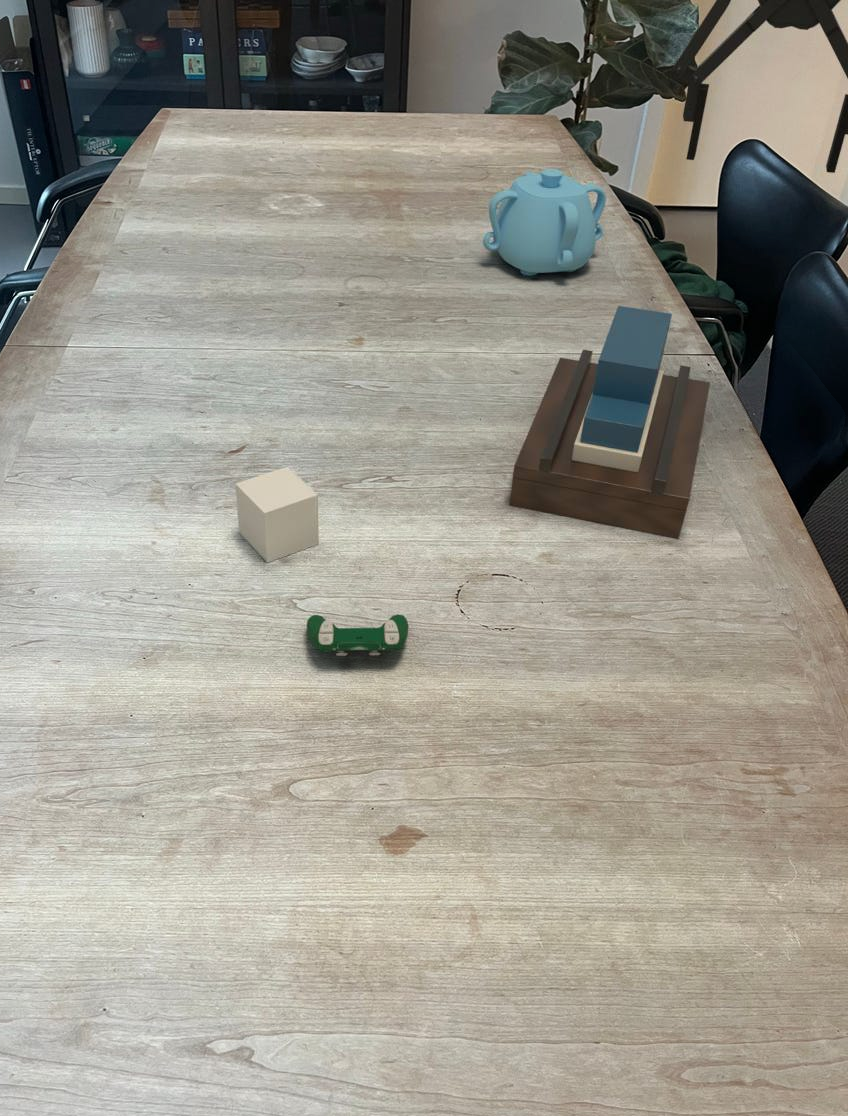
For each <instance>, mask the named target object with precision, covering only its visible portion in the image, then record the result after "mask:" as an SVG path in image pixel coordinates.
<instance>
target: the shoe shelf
mask: <svg viewBox="0 0 848 1116" xmlns="http://www.w3.org/2000/svg"><path fill="white" fill-rule="evenodd" d="M593 353H594V352H593V350H589V349H582V351H581V354H580V356H579V359H578V360H577V359H571V358H565V357H559V359H558V362H557V364H556V366H555V367H554V370H553V373H552V375H551V378H550V380H549V382H548V385H547V387H546V390H545V392H544V395H543V397H542V399H541V401H540V404H539V406H538V409H537V411H536V413H535V416H534V418H533V420H532V422H531V425H530V427H529V430H528V432H527V434H526V437H525V440H524V441H523V444H522V446H521V448H520V451H519V454H518V455H517V458H516V461H515V463H514V466H513V471H512V472H513V474H512V481H511V487H510V496H509V503H508V505H509V506H513V507H518V508H522V509H523V508H524V509H528V510H533V511H538V512H542V513H543V512H544V513H547V514H553V515H558V516H562V517H568V518H574V519H578V520H582V521H588V522H593V523H599V524H604V525H608V526H613V527H619V528H624V529H628V530H633V531H639V532H643V533H649V534H653V535H658V536H664V537H668V538H674V539H679V538H680V535H681V532H682V528H683V524H684V520H685V517H686V514H687V509H688V505H689V504H690V503H689V502H690V499H691V493H692V487H693V481H694V476H695V470H696V464H697V460H698V458H697V457H698V453H699V449H700V448H699V447H700V443H701V437H702V431H703V427H704V420H705V415H706V414H705V413H706V409H707V404H708V397H709V391H710V387H711V382H710V381H705V380H700V379H699V380H698V379H693V378H689V377H690V372H691V368H692V367H691V366H687V365H682V364H681V365H680V366H679V370H678V374H677V376H675V375H670V374H669V375H668V374H663V377H662V381H661V386H660V389H659V393H658V397H657V401H656V405H655V409H654V413H653V417H652V421H651V425H650V429H649V433H648V437H647V440H646V444H645V448H644V452H643V456H642V460H641V464H640V468H639V472H632V471H627V470H621V469H616V468H611V467H605V466H600V465H595V464H589V463H584V462H579V461H573V460H572V454H573V449H574V444H575V441H576V438H577V435H578V432H579V429H580V427H581V424H582V421H583V418H584V415H585V413H586V410H587V407H588V404H589V401H590V398H591V396H592V393H593V388H594V383H595V377H596V372H597V366H598V363H595V362H592V358H593Z"/></svg>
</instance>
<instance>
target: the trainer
mask: <svg viewBox="0 0 848 1116" xmlns="http://www.w3.org/2000/svg"><path fill="white" fill-rule="evenodd" d="M672 317H673V313H671V312H670V313H669V312H662V311H657V310H650V309H643V308H637V307H636V308H635V307H629V306H623V305H617V308H616V311H615V314H614V316H613V318H612V321H611V324H610V327H609V330H608V333H607V335H606V338H605V340H604V344H603V347H602V350H601V352H600V355H599V358H598V361H597V364H598V366H597V372H596V377H595V383H594V388H593V393H592V396H591V398H590V401H589V404H588V407H587V410H586V413H585V415H584V418H583V421H582V424H581V427H580V429H579V432H578V435H577V438H576V441H575V444H574V449H573V454H572V460H573V461H579V462H584V463H589V464H595V465H600V466H605V467H611V468H616V469H621V470H627V471H632V472H639V468H640V464H641V460H642V456H643V452H644V448H645V444H646V440H647V437H648V433H649V429H650V425H651V421H652V417H653V413H654V409H655V405H656V401H657V397H658V393H659V389H660V386H661V381H662V377H663V375H664V372H665V370H663V369H661V365H662V360H663V357H664V352H665V347H666V344H667V339H668V334H669V329H670V326H671V325H670V324H671V321H672Z"/></svg>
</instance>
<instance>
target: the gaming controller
mask: <svg viewBox="0 0 848 1116" xmlns="http://www.w3.org/2000/svg"><path fill="white" fill-rule="evenodd" d="M306 632H307V636H308V640H309V642H310V644H311V645H312V647H314V648H315V649H316V651H318V652H321V651H323V652H329V651H331V652H332V651H333V652H337V653H335V655H336V656H338V657H340V656H342V657H343V656H344V657H345V656H347V655H348V654H349V653H348V652H350V651H367V652H368V655H369V656H380V655H381V652H383V651H393V650H394V651H397V650H401V649H402V648H403V646H404V645H405V643H406V641H407V638H408V634H409V622H408V619H407V618H406V617H405V616H404V615H403V614H400V613H399V614H394V615H392V616H391V617H390V618H388V620H386V621H385V622H383V624H382V625H381V626H380V627H337V625H336V624H334V623H333V622H332V621H331V620H328V619H326V618H324V617H323V616H322V615H319V614H314V615H310V616H309V618H308V619H307V621H306Z"/></svg>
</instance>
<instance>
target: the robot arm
mask: <svg viewBox="0 0 848 1116" xmlns="http://www.w3.org/2000/svg"><path fill="white" fill-rule="evenodd" d="M731 1H732V0H715V2H714V3H713V5H712V6H711V8H710V10H709V11H708V13H707V14H706V16H705V17H704V18H703V20H702V22H701V23H700V25H699V26H698V28H697V30H696V31H695V33H694V34H693V36H692V37H691V39H690V40H689V42H688V44H687V45H686V46H685V48H684V49H683V50H682V53H681V54H680V55H679V57H678V59H677V60H676V62H675V64H674V66H673V67H672V70H671V75H672V77H673V78H675V79H679V80H681V81H683V82H684V83H685V84H686V86H687V91H686V97H685V100H684V101H685V102H684V106H683V107H684V108H683V114H682V119H683V122H688V123H692V127H691V132H690V138H689V144H688V148H687V152H686V153H687V154H686V160H689V161H694V160H695V158H696V155H697V150H698V146H699V145H698V144H699V140H700V134H701V129H702V124H703V119H704V114H705V108H706V104H707V99H708V98H707V97H708V93H709V88H710V84H709V83H703V82H704V81H705V80H706V79H708V78H709V76H710V75H711V74H712V73H713V72H714V71H716V69H717V68H719V67H720V66H721V65H722V64H723V63H724V62H725V61H726V60H727V59H728V58H729V57H730V56H731V55H732V54H733V53H734V52H735V51H737V49H738V48H739V47H740V46H741V45H742V44H743V43H744V42H745V41H747V39H748V38H749V37H750V36H751V35H752V34H754V33H755V32H756V31H757V30H758V29H759V28H760V27H761V26H762V25H763V24H764V23H765V22H766V23H767V24H769V25H770V26H771V27H773V28H774V29H786V28H789V27H792V28H795V29H798V30H805V31H808V30H810V29H812V28H815V27H816V26H818V25H820V27H821V29H822V32H823V33H824V35H825V37H826V38H827V41H828V42H829V45H830V47H831V48H832V51H833V53H834V54H835V56H836V59H837V61H838V63H839V64H840V66H841V69H842V71H843V72H844V75H845V76H846V78H847V79H848V40H847V38H846V36H845V34H844V31H843V30H842V28H841V26H840V24H839V22H838V20H837V17H836V15H835V13H834V11H833V9H834V8H835V7H836V6H837V5H838V4H839V3H840V2H841V1H842V0H757V2H758V4H759V5H758V6H757V7H756V8H755V9H754V10H753V11H752V12H751V13H750V14H749V15H748V16H747V17H746V18H745V19H744V21H742V22H741V23H740V24H739V25H738V26H737V27H736V28H735V29H734V30H733V31H732V32H731V34H729V35H728V36H727V37H726V38H725V39H724V40H723V41H722V42H721V43H720V44H719V45H718V46H717V47H716V48H715V49H714V50H713V51H712V52H711V53H710V54H709V55H708V56H707V57H706V58H705V59H704V60H703V61H702V62H701V63H700V64H699V65H698V66H697V67H695V66H692V65H691V64H692V62H693V61H694V59H696V56H697V55H698V53H699V52H700V50H701V49H702V47H703V45H704V44H705V43H706V41H707V39H708V38H709V36H710V35H711V33H712V32H713V30H714V29H715V27H716V26H717V24H718V23H719V21H720V20H721V18H722V17H723V15H724V13H725V12H726V10H727V9H728V7H729V6H730V4H731ZM840 108H841V109H840V112H839V116H838V119H837V124H836V128H835V130H834V131H835V132H834V134H833V138H832V142H831V146H830V149H829V152H828V157H827V161H826V165H825V169H826V173H830V174H832V173H833V174H835V173H836V170H837V166H838V163H839V159H840V155H841V152H842V148H843V145H844V141H845V137H846V135H848V93H844V97H843V101H842V105H841V107H840Z"/></svg>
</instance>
